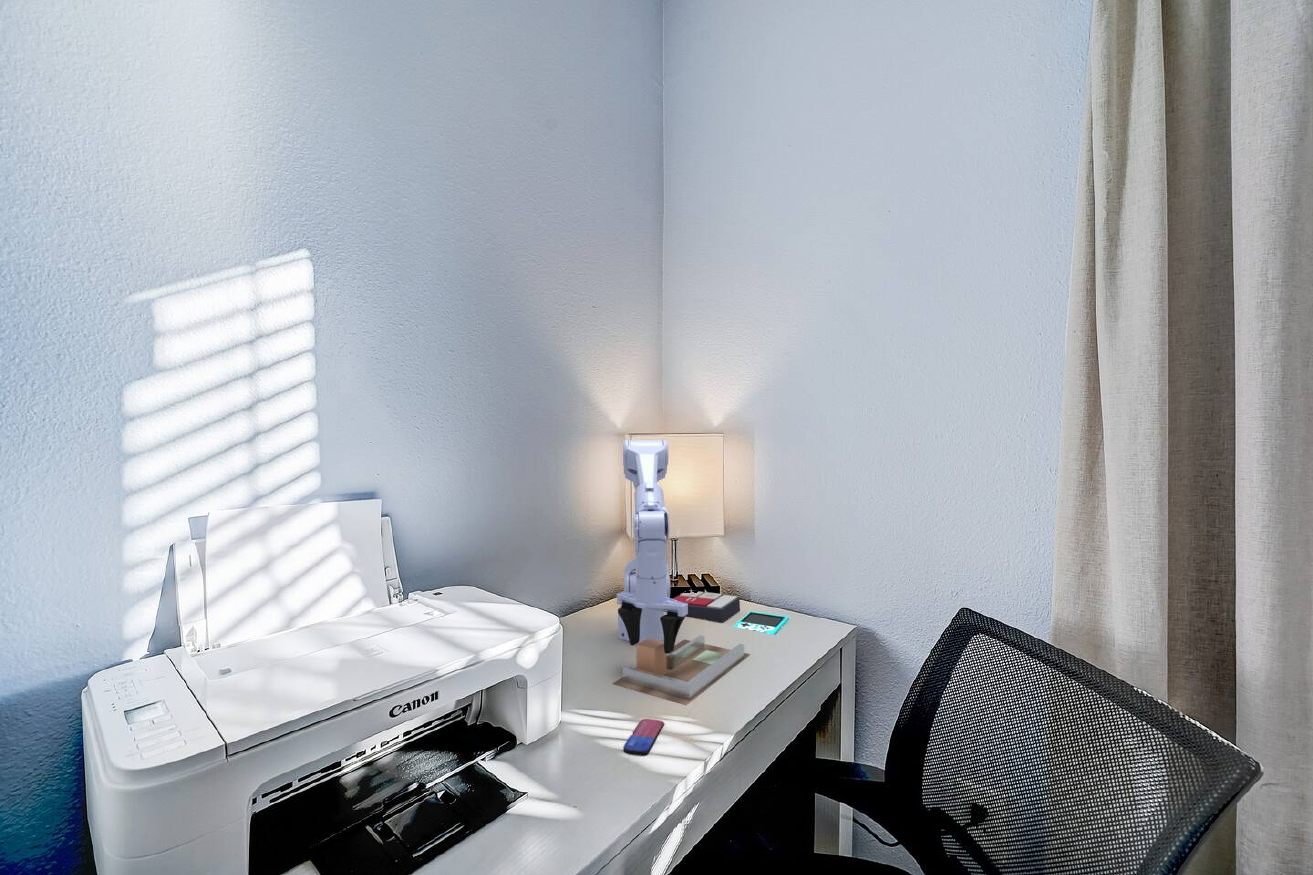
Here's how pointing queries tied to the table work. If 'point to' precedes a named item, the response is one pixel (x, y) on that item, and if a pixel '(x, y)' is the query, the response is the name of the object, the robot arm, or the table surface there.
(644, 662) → the block
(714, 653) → the track board
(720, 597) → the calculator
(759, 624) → the handheld game console
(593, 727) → the table surface
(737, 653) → the outer rail
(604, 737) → the table surface
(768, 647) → the table surface
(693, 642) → the inner rail
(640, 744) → the eraser
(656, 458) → the robot arm
